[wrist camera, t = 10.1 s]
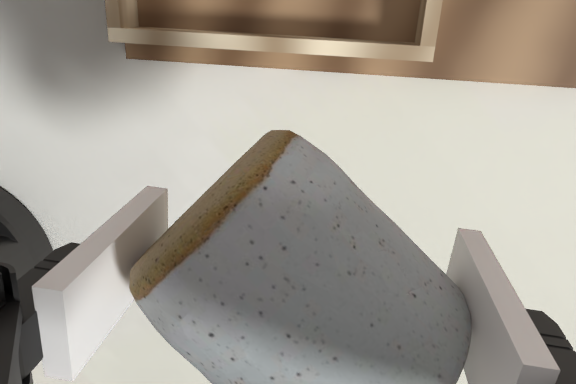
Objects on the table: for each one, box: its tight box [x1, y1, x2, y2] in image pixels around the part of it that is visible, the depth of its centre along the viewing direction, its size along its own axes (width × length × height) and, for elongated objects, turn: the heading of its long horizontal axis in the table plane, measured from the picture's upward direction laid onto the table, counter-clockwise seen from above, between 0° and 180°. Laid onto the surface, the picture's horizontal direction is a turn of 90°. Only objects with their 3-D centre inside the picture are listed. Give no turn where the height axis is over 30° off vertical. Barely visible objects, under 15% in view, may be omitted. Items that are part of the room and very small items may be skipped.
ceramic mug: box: [129, 130, 472, 384], centre depth 15 cm, size 11×8×8 cm
